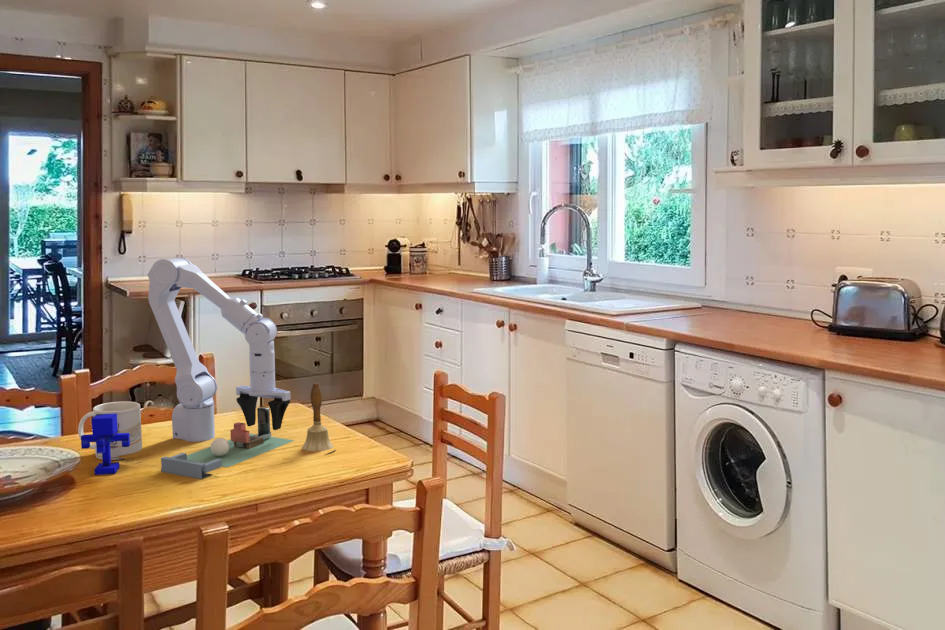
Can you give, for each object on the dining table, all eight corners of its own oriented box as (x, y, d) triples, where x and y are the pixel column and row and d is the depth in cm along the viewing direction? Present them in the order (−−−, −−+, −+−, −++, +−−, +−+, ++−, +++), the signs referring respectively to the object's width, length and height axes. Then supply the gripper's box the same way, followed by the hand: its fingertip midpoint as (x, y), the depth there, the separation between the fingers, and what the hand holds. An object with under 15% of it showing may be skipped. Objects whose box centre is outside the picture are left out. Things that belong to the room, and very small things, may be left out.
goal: (161, 471, 177) (161, 458, 177) (182, 463, 183) (182, 450, 182) (201, 479, 173) (201, 465, 172) (222, 470, 178) (221, 457, 178)
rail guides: (234, 446, 193) (233, 440, 192) (248, 441, 197) (248, 435, 197) (249, 449, 191) (248, 443, 191) (263, 443, 195) (263, 437, 195)
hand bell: (328, 457, 188) (327, 387, 186) (293, 454, 190) (292, 385, 188) (341, 447, 196) (340, 380, 194) (307, 445, 198) (306, 378, 196)
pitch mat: (177, 462, 184) (177, 458, 183) (248, 437, 204) (247, 433, 204) (227, 471, 178) (227, 467, 178) (294, 444, 198) (294, 440, 198)
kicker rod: (230, 446, 192) (229, 415, 191) (261, 435, 201) (260, 406, 200) (245, 449, 190) (244, 418, 189) (275, 437, 199) (274, 407, 198)
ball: (206, 457, 185) (206, 439, 184) (219, 452, 188) (218, 435, 188) (220, 459, 183) (220, 441, 182) (233, 454, 186) (232, 437, 186)
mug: (110, 463, 183) (108, 414, 181) (77, 455, 189) (74, 407, 188) (151, 452, 192) (149, 404, 190) (118, 444, 198) (116, 398, 196)
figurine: (133, 470, 178) (131, 415, 177) (100, 479, 172) (97, 422, 171) (113, 463, 183) (110, 409, 181) (80, 472, 177) (77, 416, 175)
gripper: (226, 371, 196) (228, 427, 198) (276, 376, 190) (277, 435, 192) (246, 365, 203) (248, 420, 204) (295, 371, 196) (296, 427, 198)
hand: (263, 427), depth 199 cm, fingers open, 7 cm apart
